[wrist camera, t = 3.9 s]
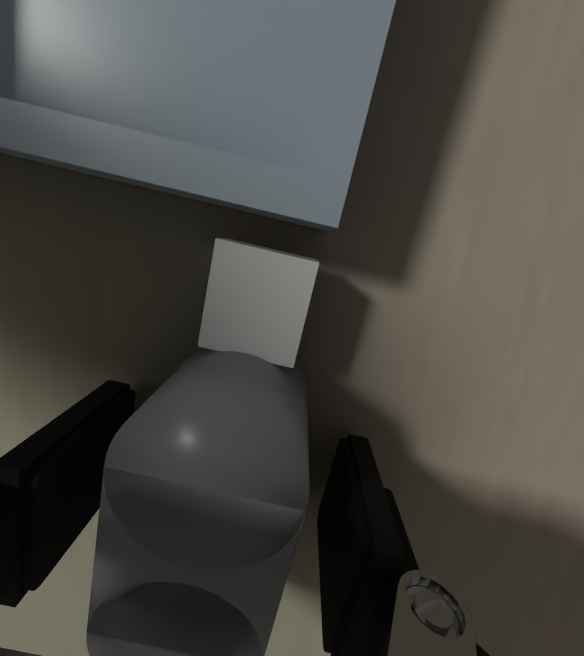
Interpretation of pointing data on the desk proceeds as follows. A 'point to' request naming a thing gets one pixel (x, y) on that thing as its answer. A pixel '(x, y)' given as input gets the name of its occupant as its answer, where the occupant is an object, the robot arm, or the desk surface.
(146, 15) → the tray
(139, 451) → the graphite plug
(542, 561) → the desk surface
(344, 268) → the desk surface
